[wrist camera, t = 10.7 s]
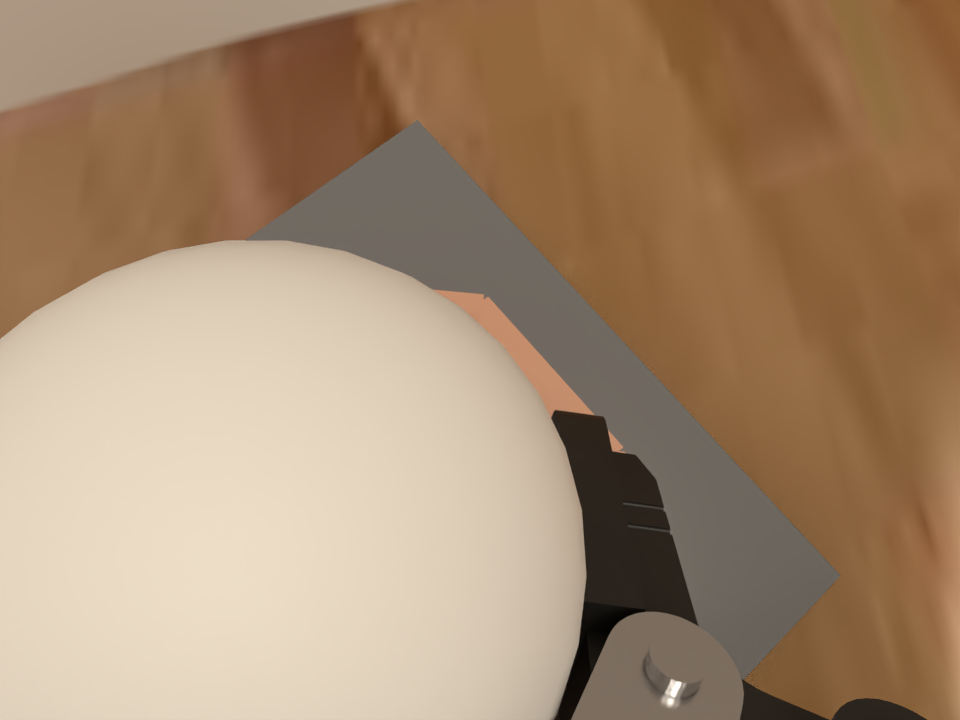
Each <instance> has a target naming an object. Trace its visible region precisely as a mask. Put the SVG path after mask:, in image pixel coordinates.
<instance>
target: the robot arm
mask: <svg viewBox="0 0 960 720" xmlns="http://www.w3.org/2000/svg"><path fill="white" fill-rule="evenodd" d="M551 419H552V421H553V423H554V426H555V428H556V430H557V432H558V434H559V436H560V438H561V440H562V442H563V444H564V446H565V448H566V452H567V456H568V459H569V463H570V467H571V471H572V475H573V478H574V482H575V486H576V490H577V494H578V497H579V501H580V505H581V509H582V519H583V533H584V547H585V562H586V576H587V577H586V585H585V594H584V603H583V611H582V620H581V628H580V637H579V645H578V649H577V652H576V655H575V658H574V661H573V665H572V668H571V671H570V674H569V678H568V681H567V684H566V687H565V690H564V694H563V697H562V700H561V703H560V707H559V710H558V713H557V715H556V717H555V719H554V720H828V719H826V718H824V717H821V716H819V715H816V714H814V713H812V712H809V711H807V710H804V709H802V708H800V707H797V706H795V705H792V704H790V703H788V702H785V701H783V700H781V699H778V698H776V697H773V696H771V695H769V694H767V693H765V692H763V691H761V690H759V689H757V688H755V687H753V686H752V685H750V684H749V683H747V682H745V681H744V680H743V679H741V677H740V673H739V671H738V669H737V667H736V665H735V663H734V661H733V660H732V658H731V657H730V655H729V654H728V652H727V651H726V650H725V649H724V648H723V646H722V645H721V644H720V643H719V642H718V641H717V640H716V639H715V638H713V637H712V636H711V635H710V634H709V633H707V632H706V631H705V630H703V629H702V628H700V627H699V625H698V623H697V619H696V616H695V612H694V609H693V605H692V602H691V598H690V595H689V591H688V588H687V584H686V581H685V577H684V574H683V570H682V567H681V563H680V560H679V557H678V553H677V550H676V546H675V543H674V539H673V536H672V535H671V534H670V525H669V522H668V518H667V515H666V512H665V511H664V504H663V501H662V497H661V494H660V491H659V487H658V484H657V480H656V478H655V477H654V476H653V475H652V474H651V472H650V471H649V470H648V469H647V468H646V466H645V465H644V464H643V463H642V462H641V460H640V459H639V458H638V457H637V456H636V455H634V454H627V453H620V452H613V451H612V447H611V443H610V438H609V433H608V428H607V424H606V420H605V418H604V417H603V416H597V415H589V414H582V413H575V412H568V411H561V410H555V411H554V412H553V414H552V417H551ZM832 720H926V719H925V718H923V717H922V716H920V715H918V714H917V713H915V712H913V711H911V710H909V709H907V708H904V707H902V706H899V705H897V704H894V703H891V702H888V701H883V700H879V699H868V698H865V699H856V700H853V701H850V702H847V703H846V704H845V705H843V706H842V707H840V709H839V710H838V711H837V712H836V714H835V715H834V717H833V718H832Z"/></svg>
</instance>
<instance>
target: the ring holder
mask: <svg viewBox="0 0 960 720" xmlns="http://www.w3.org/2000/svg"><path fill="white" fill-rule="evenodd" d="M245 241H292V242H298V243H303V244H309V245H314V246H320V247H325V248H331V249H336V250H342V251H346V252H349V253H352V254H354V255H357V256H360V257H362V258H365V259H367V260H370V261H373V262H375V263H378V264H381V265H383V266H386V267H389V268H391V269H394V270H396V271H399V272H402V273H404V274H406V275H409V276H411V277H413V278H415V279H416V280H418V281H419V282H421V283H423V284H424V285H426V286H428V287H429V288H431V289H432V290H434V291H436V292H437V293H439V294H441V295H442V296H444V297H446V298H447V299H449V300H450V301H452V302H454V303H455V304H457V305H459V306H460V307H462V308H463V309H464V310H465V311H466V312H467V313H468V314H469V315H470V316H471V317H473V318H474V319H475V320H476V321H477V322H478V323H479V324H480V325H481V326H482V327H483V328H485V329H486V330H487V331H488V332H489V333H490V334H491V335H492V336H493V337H494V338H495V339H497V340H498V341H499V342H500V343H501V344H502V345H503V346H504V347H505V348H506V350H507V351H508V352H509V354H510V355H511V356H512V358H513V359H514V360H515V362H516V363H517V364H518V366H519V367H520V369H521V370H522V371H523V373H524V374H525V375H526V377H527V378H528V379H529V381H530V382H531V383H532V385H533V386H534V387H535V389H536V390H537V391H538V393H539V394H540V396H541V398H542V401H543V403H544V405H545V407H546V409H547V411H548V413H549V415H550V417H552V414H553V412H554V411H555V410H561V411H568V412H575V413H582V414H589V415H597V416H603V417H604V418H605V420H606V424H607V428H608V433H609V438H610V443H611V447H612V451H613V452H620V453H627V454H634V455H636V456H637V457H638V458H639V459H640V460H641V462H642V463H643V464H644V465H645V466H646V468H647V469H648V470H649V471H650V472H651V474H652V475H653V476H654V477H655V478H656V480H657V484H658V487H659V491H660V494H661V497H662V501H663V504H664V511H665V512H666V515H667V518H668V522H669V525H670V534H671V535H672V536H673V539H674V543H675V546H676V550H677V553H678V557H679V560H680V563H681V567H682V570H683V574H684V577H685V581H686V584H687V588H688V591H689V595H690V598H691V602H692V605H693V609H694V612H695V616H696V619H697V623H698V625H699V627H700V628H702V629H703V630H705V631H706V632H707V633H709V634H710V635H711V636H712V637H713V638H715V639H716V640H717V641H718V642H719V643H720V644H721V645H722V646H723V648H724V649H725V650H726V651H727V652H728V654H729V655H730V657H731V658H732V660H733V661H734V663H735V665H736V667H737V669H738V671H739V673H740V677H741V679H743V680H744V679H745V678H746V677H747V676H748V674H749V673H750V672H751V671H752V670H753V669H754V668H755V667H756V666H757V665H758V664H759V663H760V662H761V661H762V659H763V658H764V657H765V656H766V655H767V654H768V653H769V652H770V651H771V650H772V649H773V648H774V647H775V645H776V644H777V643H778V642H779V641H780V640H781V639H782V638H783V637H784V636H785V635H786V634H787V633H788V632H789V630H790V629H791V628H792V627H793V626H794V625H795V624H796V623H797V622H798V621H799V620H800V619H801V618H802V617H803V615H804V614H805V613H806V612H807V611H808V610H809V609H810V608H811V607H812V606H813V605H814V604H815V603H816V602H817V600H818V599H819V598H820V597H821V596H822V595H823V594H824V593H825V592H826V591H827V590H828V589H829V588H830V586H831V585H832V584H833V583H834V582H835V581H836V580H837V579H838V578H839V577H840V575H839V573H838V572H837V571H836V570H835V569H834V568H833V567H832V566H831V565H830V564H829V563H828V562H827V561H826V559H825V558H824V557H823V556H822V555H821V554H820V553H819V552H818V551H817V550H816V549H815V548H814V547H813V545H812V544H811V543H810V542H809V541H808V540H807V539H806V538H805V537H804V536H803V535H802V534H801V533H800V531H799V530H798V529H797V528H796V527H795V526H794V525H793V524H792V523H791V522H790V521H789V520H788V519H787V517H786V516H785V515H784V514H783V513H782V512H781V511H780V510H779V509H778V508H777V507H776V506H775V505H774V503H773V502H772V501H771V500H770V499H769V498H768V497H767V496H766V495H765V494H764V493H763V492H762V491H761V489H760V488H759V487H758V486H757V485H756V484H755V483H754V482H753V481H752V480H751V479H750V478H749V477H748V475H747V474H746V473H745V472H744V471H743V470H742V469H741V468H740V467H739V466H738V465H737V464H736V463H735V461H734V460H733V459H732V458H731V457H730V456H729V455H728V454H727V453H726V452H725V451H724V450H723V449H722V447H721V446H720V445H719V444H718V443H717V442H716V441H715V440H714V439H713V438H712V437H711V436H710V435H709V433H708V432H707V431H706V430H705V429H704V428H703V427H702V426H701V425H700V424H699V423H698V422H697V421H696V419H695V418H694V417H693V416H692V415H691V414H690V413H689V412H688V411H687V410H686V409H685V408H684V407H683V405H682V404H681V403H680V402H679V401H678V400H677V399H676V398H675V397H674V396H673V395H672V394H671V393H670V391H669V390H668V389H667V388H666V387H665V386H664V385H663V384H662V383H661V382H660V381H659V380H658V379H657V377H656V376H655V375H654V374H653V373H652V372H651V371H650V370H649V369H648V368H647V367H646V366H645V365H644V363H643V362H642V361H641V360H640V359H639V358H638V357H637V356H636V355H635V354H634V353H633V352H632V351H631V349H630V348H629V347H628V346H627V345H626V344H625V343H624V342H623V341H622V340H621V339H620V338H619V337H618V335H617V334H616V333H615V332H614V331H613V330H612V329H611V328H610V327H609V326H608V325H607V324H606V323H605V321H604V320H603V319H602V318H601V317H600V316H599V315H598V314H597V313H596V312H595V311H594V310H593V309H592V307H591V306H590V305H589V304H588V303H587V302H586V301H585V300H584V299H583V298H582V297H581V296H580V295H579V294H578V292H577V291H576V290H575V289H574V288H573V287H572V286H571V285H570V284H569V283H568V282H567V281H566V280H565V278H564V277H563V276H562V275H561V274H560V273H559V272H558V271H557V270H556V269H555V268H554V267H553V266H552V264H551V263H550V262H549V261H548V260H547V259H546V258H545V257H544V256H543V255H542V254H541V253H540V252H539V250H538V249H537V248H536V247H535V246H534V245H533V244H532V243H531V242H530V241H529V240H528V239H527V238H526V236H525V235H524V234H523V233H522V232H521V231H520V230H519V229H518V228H517V227H516V226H515V225H514V224H513V222H512V221H511V220H510V219H509V218H508V217H507V216H506V215H505V214H504V213H503V212H502V211H501V210H500V208H499V207H498V206H497V205H496V204H495V203H494V202H493V201H492V200H491V199H490V198H489V197H488V196H487V194H486V193H485V192H484V191H483V190H482V189H481V188H480V187H479V186H478V185H477V184H476V183H475V182H474V180H473V179H472V178H471V177H470V176H469V175H468V174H467V173H466V172H465V171H464V170H463V169H462V168H461V166H460V165H459V164H458V163H457V162H456V161H455V160H454V159H453V158H452V157H451V156H450V155H449V154H448V152H447V151H446V150H445V149H444V148H443V147H442V146H441V145H440V144H439V143H438V142H437V141H436V140H435V138H434V137H433V136H432V135H431V134H430V133H429V132H428V131H427V130H426V129H425V128H424V127H423V126H422V124H421V123H420V122H419V121H418V120H417V121H415V122H414V123H413V124H411V125H410V126H408V127H407V128H405V129H404V130H403V131H401V132H400V133H398V134H397V135H395V136H394V137H393V138H391V139H390V140H388V141H387V142H385V143H384V144H382V145H381V146H380V147H378V148H377V149H375V150H374V151H372V152H371V153H370V154H368V155H367V156H365V157H364V158H362V159H361V160H359V161H358V162H357V163H355V164H354V165H352V166H351V167H349V168H348V169H347V170H345V171H344V172H342V173H341V174H339V175H338V176H337V177H335V178H334V179H332V180H331V181H329V182H328V183H326V184H325V185H324V186H322V187H321V188H319V189H318V190H316V191H315V192H314V193H312V194H311V195H309V196H308V197H306V198H305V199H304V200H302V201H301V202H299V203H298V204H296V205H295V206H293V207H292V208H291V209H289V210H288V211H286V212H285V213H283V214H282V215H281V216H279V217H278V218H276V219H275V220H273V221H272V222H271V223H269V224H268V225H266V226H265V227H263V228H262V229H260V230H259V231H258V232H256V233H255V234H253V235H252V236H250V237H249V238H248V239H246V240H245Z"/></svg>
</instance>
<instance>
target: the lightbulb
mask: <svg viewBox="0 0 960 720" xmlns="http://www.w3.org/2000/svg"><path fill="white" fill-rule="evenodd" d="M586 577H587V576H586V562H585V547H584V533H583V519H582V509H581V505H580V501H579V497H578V494H577V490H576V486H575V482H574V478H573V475H572V471H571V467H570V463H569V459H568V456H567V452H566V448H565V446H564V444H563V442H562V440H561V438H560V436H559V434H558V432H557V430H556V428H555V426H554V423H553V421H552V419H551V417H550V415H549V413H548V411H547V409H546V407H545V405H544V403H543V401H542V398H541V396H540V394H539V393H538V391H537V390H536V389H535V387H534V386H533V385H532V383H531V382H530V381H529V379H528V378H527V377H526V375H525V374H524V373H523V371H522V370H521V369H520V367H519V366H518V364H517V363H516V362H515V360H514V359H513V358H512V356H511V355H510V354H509V352H508V351H507V350H506V348H505V347H504V346H503V345H502V344H501V343H500V342H499V341H498V340H497V339H495V338H494V337H493V336H492V335H491V334H490V333H489V332H488V331H487V330H486V329H485V328H483V327H482V326H481V325H480V324H479V323H478V322H477V321H476V320H475V319H474V318H473V317H471V316H470V315H469V314H468V313H467V312H466V311H465V310H464V309H463V308H462V307H460V306H459V305H457V304H455V303H454V302H452V301H450V300H449V299H447V298H446V297H444V296H442V295H441V294H439V293H437V292H436V291H434V290H432V289H431V288H429V287H428V286H426V285H424V284H423V283H421V282H419V281H418V280H416V279H415V278H413V277H411V276H409V275H406V274H404V273H402V272H399V271H396V270H394V269H391V268H389V267H386V266H383V265H381V264H378V263H375V262H373V261H370V260H367V259H365V258H362V257H360V256H357V255H354V254H352V253H349V252H346V251H342V250H336V249H331V248H325V247H320V246H314V245H309V244H303V243H298V242H292V241H221V242H215V243H209V244H204V245H198V246H192V247H187V248H181V249H175V250H170V251H164V252H162V253H159V254H156V255H153V256H150V257H148V258H145V259H142V260H139V261H136V262H134V263H131V264H128V265H125V266H123V267H120V268H117V269H114V270H111V271H109V272H106V273H103V274H102V275H100V276H98V277H96V278H94V279H92V280H90V281H89V282H87V283H85V284H83V285H81V286H80V287H78V288H76V289H74V290H73V291H71V292H69V293H67V294H65V295H64V296H62V297H60V298H58V299H56V300H55V301H53V302H51V303H49V304H48V305H46V306H44V307H42V308H40V309H39V310H37V311H35V312H33V313H32V314H31V315H30V316H28V317H27V318H26V319H25V320H23V321H22V322H21V323H20V324H18V325H17V326H16V327H15V328H14V329H12V330H11V331H10V332H9V333H7V334H6V335H5V336H4V337H2V338H1V339H0V720H554V719H555V717H556V715H557V713H558V710H559V707H560V703H561V700H562V697H563V694H564V690H565V687H566V684H567V681H568V678H569V674H570V671H571V668H572V665H573V661H574V658H575V655H576V652H577V649H578V645H579V637H580V628H581V620H582V611H583V603H584V594H585V585H586Z"/></svg>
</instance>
